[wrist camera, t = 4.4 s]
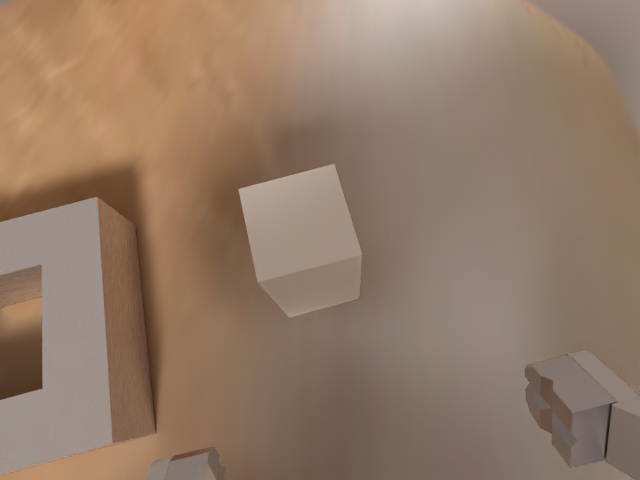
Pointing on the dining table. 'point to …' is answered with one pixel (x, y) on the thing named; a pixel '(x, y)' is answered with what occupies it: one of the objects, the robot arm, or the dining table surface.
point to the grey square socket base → (77, 334)
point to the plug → (303, 240)
